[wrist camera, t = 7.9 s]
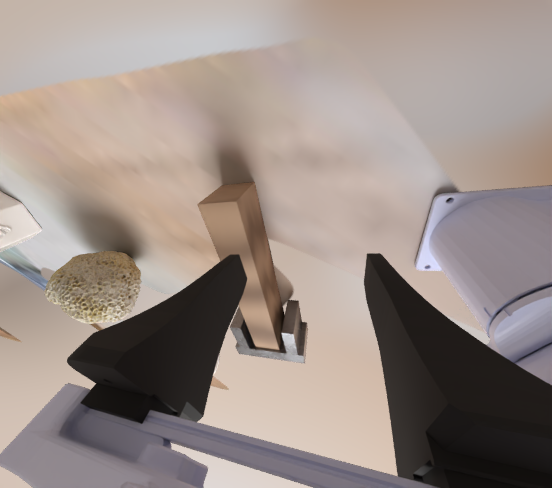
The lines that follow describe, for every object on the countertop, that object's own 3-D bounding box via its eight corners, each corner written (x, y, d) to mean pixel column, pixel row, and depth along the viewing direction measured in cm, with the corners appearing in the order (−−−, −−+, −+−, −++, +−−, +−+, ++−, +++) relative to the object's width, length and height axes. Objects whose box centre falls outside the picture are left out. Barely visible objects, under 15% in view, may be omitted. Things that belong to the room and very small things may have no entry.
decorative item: (144, 231, 26) (63, 287, 18) (176, 279, 31) (123, 340, 23) (84, 237, 29) (-5, 286, 22) (121, 279, 34) (58, 332, 26)
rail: (285, 318, 31) (279, 350, 27) (264, 317, 32) (255, 347, 28) (255, 181, 19) (236, 201, 15) (223, 184, 20) (197, 204, 16)
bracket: (303, 301, 27) (299, 334, 23) (307, 330, 31) (304, 363, 27) (238, 297, 30) (224, 326, 26) (249, 324, 34) (239, 353, 30)
